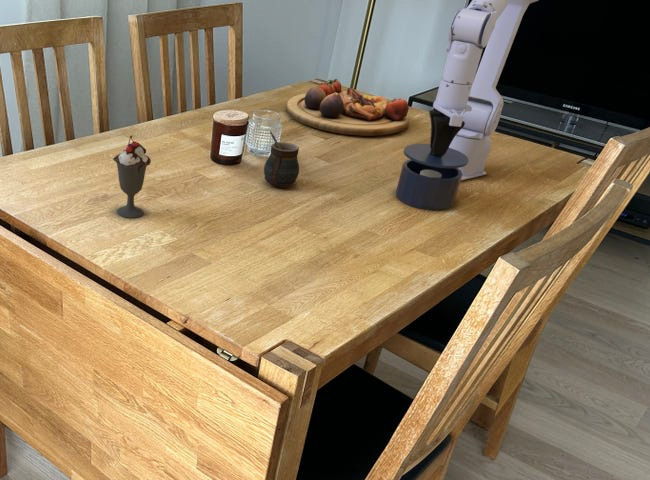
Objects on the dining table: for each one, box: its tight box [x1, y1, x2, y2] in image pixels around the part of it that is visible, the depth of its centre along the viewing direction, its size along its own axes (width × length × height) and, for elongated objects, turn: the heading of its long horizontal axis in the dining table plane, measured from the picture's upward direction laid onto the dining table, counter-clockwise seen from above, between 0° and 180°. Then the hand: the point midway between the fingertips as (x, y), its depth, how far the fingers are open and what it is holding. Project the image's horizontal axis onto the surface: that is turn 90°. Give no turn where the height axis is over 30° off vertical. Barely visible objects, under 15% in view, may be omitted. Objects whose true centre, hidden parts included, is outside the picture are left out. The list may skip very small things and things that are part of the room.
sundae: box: [112, 134, 152, 219], centre depth 130 cm, size 7×7×15 cm
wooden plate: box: [285, 78, 410, 137], centre depth 189 cm, size 32×32×8 cm
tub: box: [420, 170, 442, 178], centre depth 147 cm, size 4×4×5 cm
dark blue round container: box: [395, 159, 462, 211], centre depth 147 cm, size 11×11×6 cm
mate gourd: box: [263, 131, 300, 189], centre depth 147 cm, size 7×8×10 cm
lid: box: [403, 137, 469, 168], centre depth 143 cm, size 12×12×4 cm
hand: (437, 152), depth 143 cm, fingers closed on lid, 2 cm apart
